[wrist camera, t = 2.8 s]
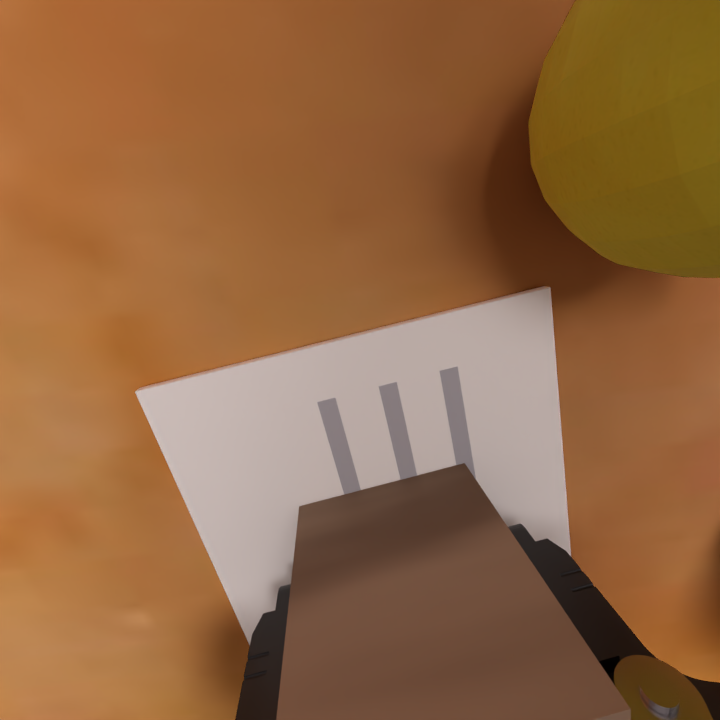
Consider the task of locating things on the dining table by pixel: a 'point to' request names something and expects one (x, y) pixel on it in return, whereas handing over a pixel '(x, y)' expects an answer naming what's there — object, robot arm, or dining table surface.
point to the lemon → (634, 132)
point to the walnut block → (429, 615)
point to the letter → (365, 431)
